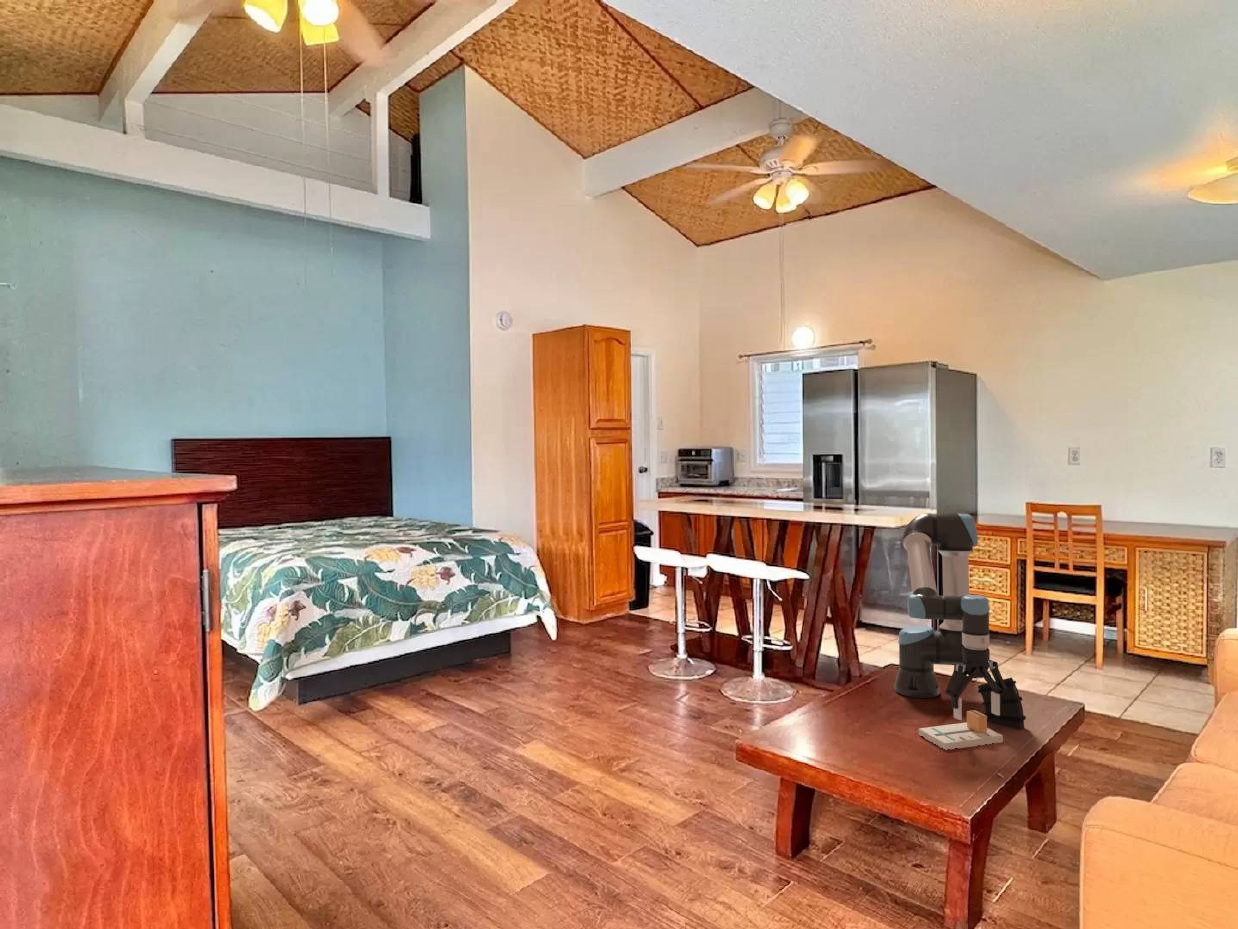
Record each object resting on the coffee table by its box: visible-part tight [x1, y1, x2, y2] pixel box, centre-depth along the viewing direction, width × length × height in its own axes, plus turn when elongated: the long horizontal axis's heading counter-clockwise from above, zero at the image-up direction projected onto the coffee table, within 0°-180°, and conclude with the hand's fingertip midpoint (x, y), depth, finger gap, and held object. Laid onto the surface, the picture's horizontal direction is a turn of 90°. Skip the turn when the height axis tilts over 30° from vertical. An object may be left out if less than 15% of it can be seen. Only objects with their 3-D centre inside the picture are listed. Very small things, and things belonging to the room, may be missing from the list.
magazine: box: [977, 677, 1027, 730], centre depth 231 cm, size 4×13×15 cm, turn 38°
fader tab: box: [966, 709, 988, 733], centre depth 221 cm, size 5×3×5 cm, turn 14°
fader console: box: [918, 721, 1004, 751], centre depth 220 cm, size 12×20×2 cm, turn 104°
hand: (976, 716), depth 221 cm, fingers open, 13 cm apart
